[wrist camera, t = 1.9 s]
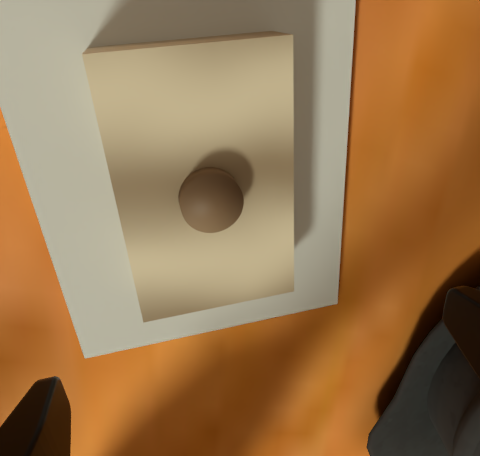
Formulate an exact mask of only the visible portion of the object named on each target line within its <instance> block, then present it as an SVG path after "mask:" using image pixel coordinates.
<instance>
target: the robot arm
mask: <svg viewBox="0 0 480 456" xmlns="http://www.w3.org/2000/svg"><path fill="white" fill-rule="evenodd" d="M442 317H443V322H444V324H445V326H446V328H447V329H448V331H449V332H450V334H451V335H452V337H453V339H454V340H455V342H456V343H457V345H458V346H459V348H460V350H461V351H462V353H463V354H464V356H465V357H466V359H467V360H468V362H469V364H470V365H471V367H472V368H473V370H474V371H475V373H476V374H477V376H478V377H479V379H480V290H477V289H474V288H472V287H469V286H460V287H455V288H451V289H449V291H448V292H447V295H446V300H445V304H444V309H443V314H442ZM70 444H71V408H70V403H69V400H68V398H67V395H66V393H65V390H64V387H63V385H62V382H61V380H60V379H59V377H56V376H54V377H50V378H45V379H41V380H38V381H36V382H35V383H34V384H33V386H32V387H31V388H30V389H29V391H28V392H27V393H26V395H25V396H24V397H23V398H22V400H21V401H20V402H19V404H18V405H17V406H16V407H15V409H14V410H13V411H12V413H11V414H10V415H9V416H8V418H7V419H6V420H5V422H4V423H3V424H2V425H1V427H0V456H70Z"/></svg>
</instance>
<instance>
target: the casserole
mask: <svg viewBox="0 0 480 456" xmlns="http://www.w3.org/2000/svg"><path fill="white" fill-rule="evenodd" d="M475 289H477V290H480V286H478V287H477V288H475ZM367 449H368V452H369V454H370V456H480V379H479V377H478V376H477V374H476V373H475V371H474V370H473V368H472V367H471V365H470V364H469V362H468V360H467V359H466V357H465V356H464V354H463V353H462V351H461V350H460V348H459V346H458V345H457V343H456V342H455V340H454V339H453V337H452V335H451V334H450V332H449V331H448V329H447V328H446V326H445V324H444V322H443V318H442V319H441V320H440V321H439V322H438V323H437V325H436V326H435V327H434V328H433V329H432V330H431V331H430V332H429V334H428V335H427V336H426V338H425V339H424V341H423V342H422V344H421V345H420V347H419V348H418V349H417V351H416V352H415V354H414V355H413V357H412V359H411V361H410V364H409V366H408V368H407V370H406V372H405V374H404V376H403V378H402V381H401V383H400V385H399V387H398V389H397V391H396V393H395V396H394V398H393V399H392V401H391V402H390V404H389V405H388V407H387V408H386V410H385V411H384V412H383V414H382V415H381V417H380V418H379V420H378V421H377V423H376V424H375V426H374V427H373V429H372V430H371V432H370V433H369V437H368V443H367Z"/></svg>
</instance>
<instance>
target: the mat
mask: <svg viewBox="0 0 480 456" xmlns="http://www.w3.org/2000/svg"><path fill="white" fill-rule="evenodd" d="M355 6H356V0H0V107H1V110H2V113H3V116H4V119H5V122H6V125H7V128H8V131H9V134H10V137H11V140H12V143H13V146H14V149H15V152H16V155H17V158H18V161H19V164H20V167H21V170H22V173H23V176H24V179H25V182H26V185H27V188H28V191H29V194H30V197H31V200H32V202H33V205H34V208H35V211H36V214H37V217H38V220H39V223H40V226H41V229H42V232H43V235H44V238H45V241H46V244H47V247H48V250H49V253H50V256H51V259H52V262H53V265H54V268H55V271H56V274H57V277H58V280H59V283H60V286H61V289H62V292H63V295H64V298H65V301H66V304H67V307H68V310H69V313H70V316H71V319H72V322H73V325H74V328H75V331H76V334H77V337H78V340H79V343H80V345H81V348H82V351H83V354H84V357H85V358H90V357H94V356H99V355H104V354H108V353H113V352H117V351H122V350H127V349H131V348H136V347H140V346H145V345H150V344H154V343H159V342H164V341H168V340H173V339H177V338H182V337H187V336H191V335H196V334H200V333H205V332H210V331H214V330H219V329H224V328H228V327H233V326H237V325H242V324H247V323H251V322H256V321H260V320H265V319H270V318H274V317H279V316H284V315H288V314H293V313H297V312H302V311H307V310H311V309H316V308H321V307H325V306H330V305H334V304H338V288H339V271H340V255H341V238H342V222H343V205H344V188H345V172H346V155H347V139H348V122H349V106H350V89H351V73H352V56H353V39H354V23H355ZM265 31H276V32H281V33H287V34H293V91H294V292H289V293H284V294H279V295H274V296H269V297H265V298H260V299H255V300H250V301H245V302H240V303H236V304H231V305H226V306H221V307H216V308H212V309H207V310H202V311H197V312H192V313H187V314H183V315H178V316H173V317H168V318H163V319H158V320H154V321H149V322H144V323H143V318H142V314H141V310H140V305H139V301H138V297H137V292H136V288H135V284H134V279H133V275H132V270H131V266H130V262H129V257H128V253H127V249H126V244H125V240H124V236H123V231H122V227H121V223H120V218H119V214H118V209H117V205H116V201H115V196H114V192H113V188H112V183H111V179H110V175H109V170H108V166H107V162H106V157H105V153H104V149H103V144H102V140H101V135H100V131H99V127H98V122H97V118H96V114H95V109H94V105H93V101H92V96H91V92H90V88H89V83H88V79H87V74H86V70H85V66H84V61H83V57H82V53H83V52H84V51H85V50H86V49H87V48H88V47H99V46H110V45H121V44H132V43H143V42H154V41H165V40H177V39H188V38H199V37H210V36H221V35H232V34H243V33H254V32H265Z"/></svg>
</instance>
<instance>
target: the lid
mask: <svg viewBox="0 0 480 456" xmlns="http://www.w3.org/2000/svg"><path fill="white" fill-rule="evenodd" d="M82 57H83V61H84V66H85V70H86V74H87V79H88V83H89V88H90V92H91V96H92V101H93V105H94V109H95V114H96V118H97V122H98V127H99V131H100V135H101V140H102V144H103V149H104V153H105V157H106V162H107V166H108V170H109V175H110V179H111V183H112V188H113V192H114V196H115V201H116V205H117V209H118V214H119V218H120V223H121V227H122V231H123V236H124V240H125V244H126V249H127V253H128V257H129V262H130V266H131V270H132V275H133V279H134V284H135V288H136V292H137V297H138V301H139V305H140V310H141V314H142V318H143V323H144V322H149V321H154V320H158V319H163V318H168V317H173V316H178V315H183V314H187V313H192V312H197V311H202V310H207V309H212V308H216V307H221V306H226V305H231V304H236V303H240V302H245V301H250V300H255V299H260V298H265V297H269V296H274V295H279V294H284V293H289V292H294V91H293V34H287V33H281V32H276V31H265V32H254V33H243V34H232V35H221V36H210V37H199V38H188V39H177V40H165V41H154V42H143V43H132V44H121V45H110V46H99V47H88V48H87V49H86V50H85V51H84V52H83V53H82Z"/></svg>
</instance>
